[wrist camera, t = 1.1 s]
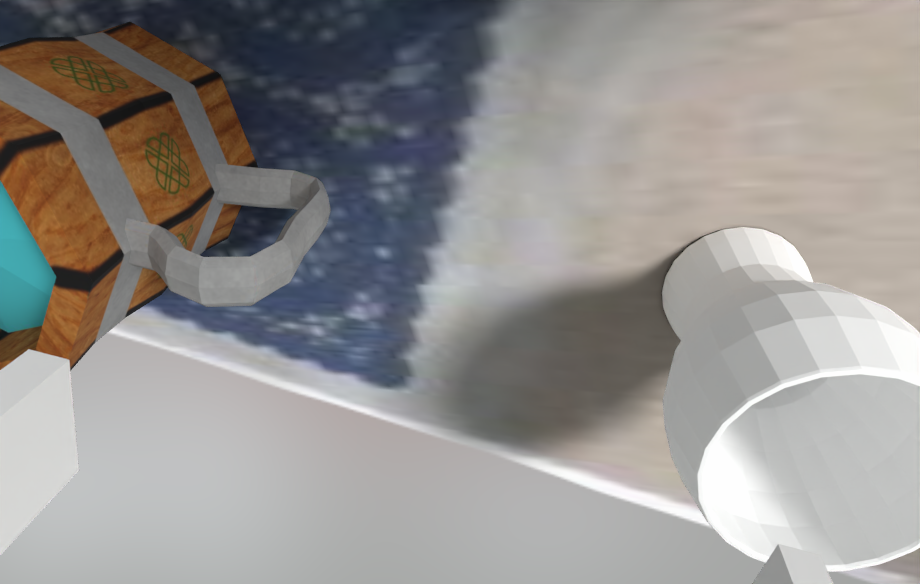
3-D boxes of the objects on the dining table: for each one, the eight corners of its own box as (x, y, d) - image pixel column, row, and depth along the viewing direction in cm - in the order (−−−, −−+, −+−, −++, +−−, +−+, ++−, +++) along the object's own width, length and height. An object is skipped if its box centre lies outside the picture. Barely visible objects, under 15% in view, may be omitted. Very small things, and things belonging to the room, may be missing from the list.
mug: (51, 236, 41) (-191, 370, 28) (8, 2, 35) (-331, 30, 21) (357, 290, 40) (258, 455, 26) (371, 58, 33) (250, 123, 20)
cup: (631, 369, 40) (669, 575, 26) (641, 202, 35) (693, 351, 22) (817, 372, 38) (957, 591, 25) (854, 198, 34) (1050, 355, 20)
